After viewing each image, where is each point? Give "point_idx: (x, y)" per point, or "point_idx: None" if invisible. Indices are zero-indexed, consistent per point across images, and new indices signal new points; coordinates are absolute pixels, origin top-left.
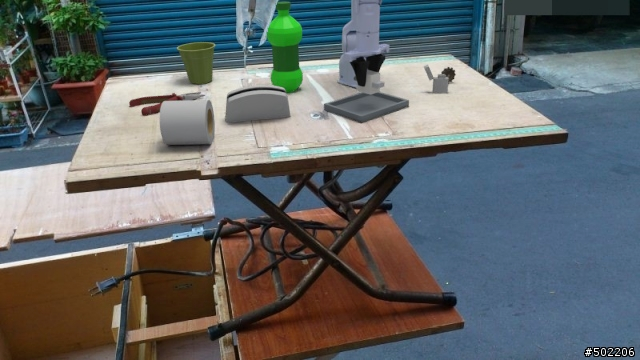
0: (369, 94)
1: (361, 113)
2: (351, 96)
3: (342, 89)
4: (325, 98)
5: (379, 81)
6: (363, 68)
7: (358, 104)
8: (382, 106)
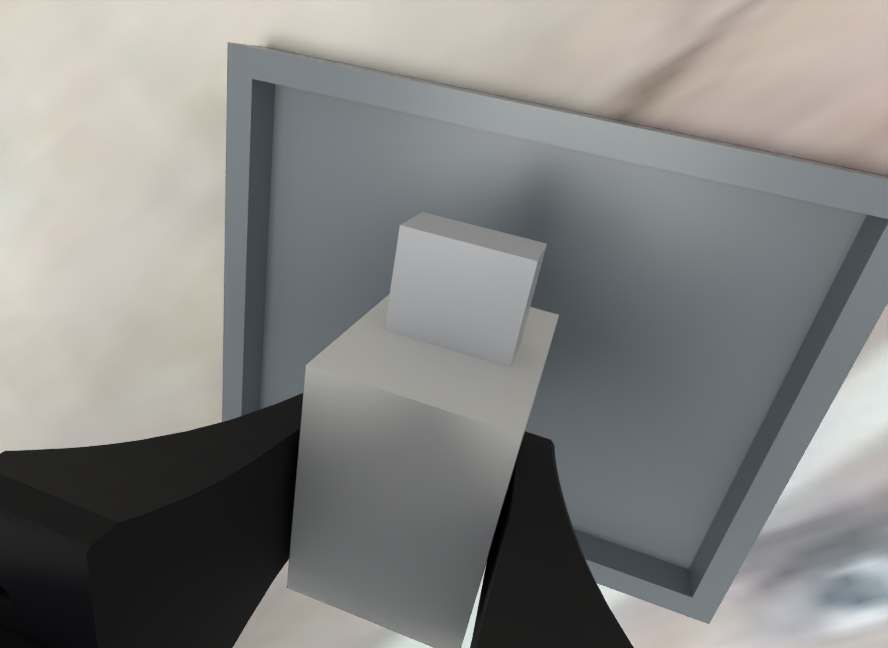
0: None
1: (691, 292)
2: None
3: (269, 605)
4: (465, 640)
5: (410, 301)
6: (627, 641)
7: None
8: None
